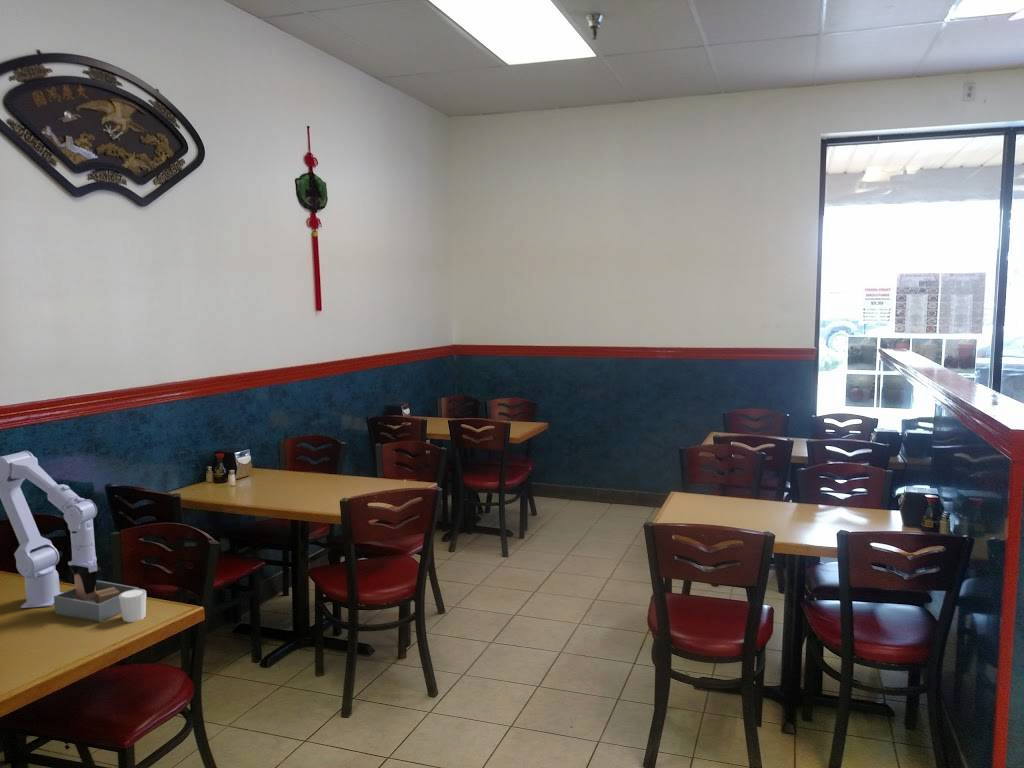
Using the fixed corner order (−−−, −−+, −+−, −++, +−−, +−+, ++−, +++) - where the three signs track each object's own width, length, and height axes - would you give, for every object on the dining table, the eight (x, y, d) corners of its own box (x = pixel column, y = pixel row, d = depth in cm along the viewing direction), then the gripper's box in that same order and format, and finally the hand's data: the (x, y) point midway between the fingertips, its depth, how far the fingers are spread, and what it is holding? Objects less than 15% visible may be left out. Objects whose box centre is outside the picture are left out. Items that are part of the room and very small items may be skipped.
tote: (55, 613, 214) (53, 596, 213) (96, 596, 226) (95, 579, 225) (99, 622, 207) (98, 604, 207) (139, 604, 220) (138, 587, 219)
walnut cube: (95, 608, 215) (94, 591, 215) (115, 603, 219) (114, 586, 218) (101, 614, 212) (99, 596, 211) (120, 608, 215) (119, 591, 215)
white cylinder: (114, 620, 209) (112, 595, 208) (137, 611, 215) (135, 587, 214) (131, 624, 206) (129, 599, 205) (153, 615, 212) (151, 591, 211)
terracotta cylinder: (84, 593, 221) (82, 570, 220) (100, 594, 220) (98, 570, 219) (72, 600, 216) (70, 576, 215) (88, 601, 215) (86, 577, 214)
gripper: (59, 541, 218) (62, 587, 220) (76, 553, 208) (79, 601, 210) (86, 536, 223) (89, 581, 225) (103, 546, 213) (107, 593, 215)
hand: (86, 590), depth 218 cm, fingers closed on terracotta cylinder, 5 cm apart
